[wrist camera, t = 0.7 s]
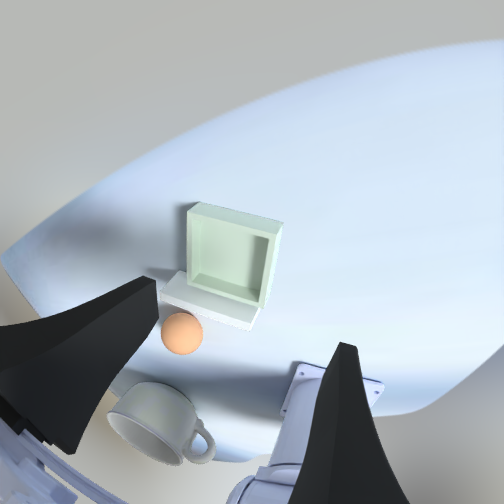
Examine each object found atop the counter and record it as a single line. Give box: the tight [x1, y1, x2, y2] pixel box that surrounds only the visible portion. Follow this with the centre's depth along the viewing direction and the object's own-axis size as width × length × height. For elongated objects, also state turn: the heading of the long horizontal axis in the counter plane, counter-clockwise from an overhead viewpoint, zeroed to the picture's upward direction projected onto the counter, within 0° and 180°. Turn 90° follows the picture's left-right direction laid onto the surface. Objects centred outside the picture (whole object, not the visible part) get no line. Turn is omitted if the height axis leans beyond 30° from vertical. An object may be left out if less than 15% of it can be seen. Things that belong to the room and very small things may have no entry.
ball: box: [161, 313, 203, 355], centre depth 25 cm, size 4×4×4 cm
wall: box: [159, 270, 261, 332], centre depth 22 cm, size 1×7×3 cm, turn 84°
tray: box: [187, 202, 283, 309], centre depth 21 cm, size 6×6×2 cm
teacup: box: [107, 382, 216, 466], centre depth 33 cm, size 14×11×8 cm
